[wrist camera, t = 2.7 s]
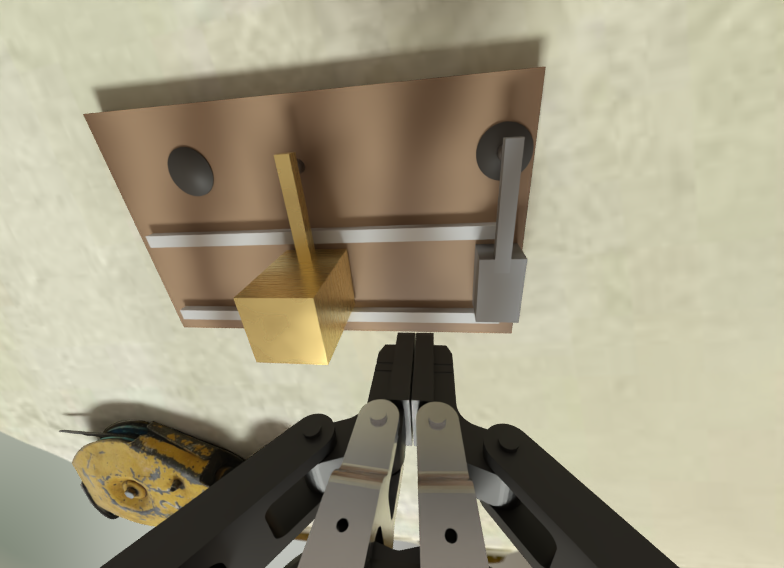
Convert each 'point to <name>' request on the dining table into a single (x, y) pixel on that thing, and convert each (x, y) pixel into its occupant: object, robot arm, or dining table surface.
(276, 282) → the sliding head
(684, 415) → the dining table surface
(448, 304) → the gauge board
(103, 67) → the dining table surface
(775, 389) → the dining table surface
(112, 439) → the pulley block
